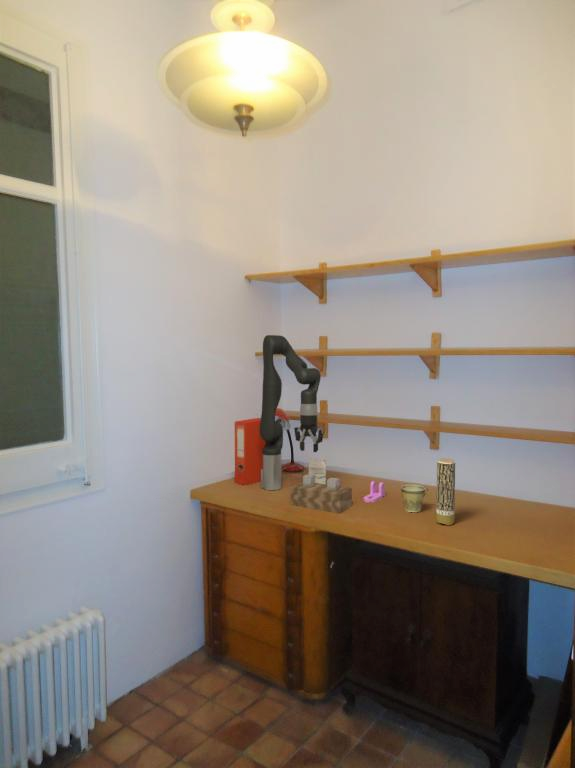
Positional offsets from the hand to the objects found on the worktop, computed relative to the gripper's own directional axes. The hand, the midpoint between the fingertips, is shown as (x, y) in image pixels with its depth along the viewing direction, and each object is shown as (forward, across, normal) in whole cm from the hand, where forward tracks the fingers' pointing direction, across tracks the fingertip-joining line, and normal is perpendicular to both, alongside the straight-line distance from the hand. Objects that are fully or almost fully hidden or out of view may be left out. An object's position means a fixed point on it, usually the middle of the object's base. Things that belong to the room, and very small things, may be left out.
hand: (309, 451), depth 232 cm
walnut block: (+24, +6, 0) cm, 24 cm away
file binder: (+24, -44, +19) cm, 54 cm away
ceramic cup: (+24, +44, +14) cm, 52 cm away
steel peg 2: (+19, +12, 0) cm, 23 cm away
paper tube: (+24, +59, +4) cm, 64 cm away
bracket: (+24, +22, +21) cm, 39 cm away
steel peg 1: (+19, 0, 0) cm, 19 cm away
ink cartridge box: (+24, -8, +23) cm, 34 cm away
